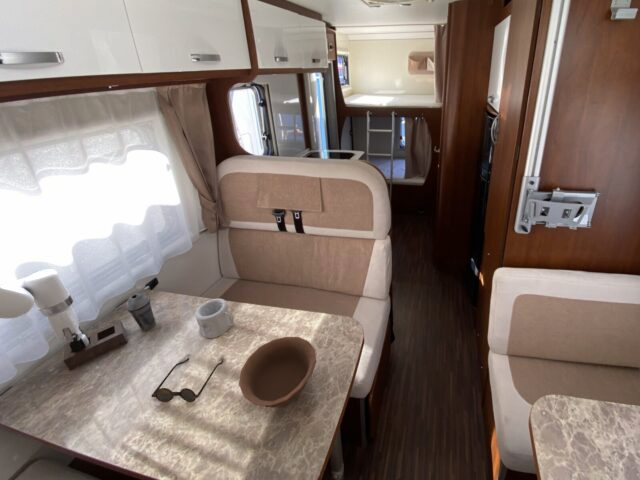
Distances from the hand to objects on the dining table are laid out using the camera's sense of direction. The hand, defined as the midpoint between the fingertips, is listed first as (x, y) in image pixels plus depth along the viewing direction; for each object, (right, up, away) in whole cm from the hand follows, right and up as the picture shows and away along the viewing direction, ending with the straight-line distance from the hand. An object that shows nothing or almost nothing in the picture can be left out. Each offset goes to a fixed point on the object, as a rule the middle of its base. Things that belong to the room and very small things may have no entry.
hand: (79, 344), depth 107 cm
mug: (+44, +1, +11) cm, 46 cm away
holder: (+3, -4, +4) cm, 6 cm away
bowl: (+77, -8, -13) cm, 79 cm away
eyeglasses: (+46, -7, -8) cm, 47 cm away
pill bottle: (0, -3, +1) cm, 3 cm away
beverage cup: (+14, 0, +13) cm, 19 cm away
